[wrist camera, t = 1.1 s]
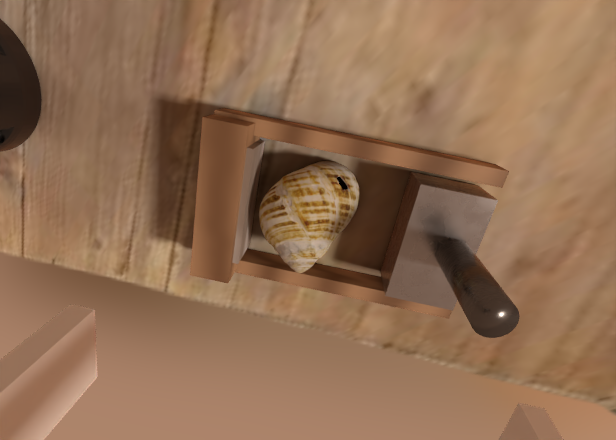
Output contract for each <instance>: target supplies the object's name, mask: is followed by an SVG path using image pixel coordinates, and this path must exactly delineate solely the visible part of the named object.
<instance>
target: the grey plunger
mask: <svg viewBox="0 0 616 440" xmlns="http://www.w3.org/2000/svg"><path fill="white" fill-rule="evenodd" d="M497 202H498V200H497V199H495V198H494V197H493V196H491V195H490V194H489V193H487V192H486V191H485V190H483V189H482V188H481V187H479V186H477V185H473V184H468V183H463V182H458V181H453V180H449V179H444V178H439V177H434V176H430V175H425V174H420V173H415V172H411V173H410V177H409V180H408V183H407V187H406V190H405V193H404V196H403V200H402V203H401V206H400V209H399V213H398V216H397V219H396V223H395V226H394V229H393V232H392V236H391V239H390V242H389V246H388V249H387V252H386V255H385V259H384V262H383V265H382V268H381V277H382V282H383V287H384V292H385V296H388V297H393V298H397V299H402V300H406V301H411V302H416V303H420V304H425V305H430V306H434V307H439V308H443V309H448V310H453V309H454V306H455V304H456V302H457V300H458V301H459V303H460V305H461V307H462V309H463V311H464V313H465V315H466V317H467V318H468V320H469V322H470V324H471V326H472V328H473V329H474V331H475V332H476V333H478V334H479V335H481V336H484V337H489V338H496V337H501V336H504V335H506V334H508V333H509V332H511V331H512V330H513V329H514V328H515V327H516V325H517V324H518V321H519V312H518V309H517V308H516V306H515V305H514V304H513V302H512V301H511V300H510V299H509V297H508V296H507V295H506V293H505V292H504V291H503V290H502V288H501V287H500V286H499V284H498V283H497V282H496V280H495V279H494V278H493V277H492V275H491V274H490V273H489V271H488V270H487V269H486V268H485V266H484V265H483V264H482V262H481V261H480V260H479V259H478V257H477V256H476V253H477V250H478V248H479V246H480V243H481V241H482V238H483V236H484V233H485V231H486V229H487V226H488V224H489V221H490V219H491V216H492V214H493V212H494V209H495V207H496V204H497Z"/></svg>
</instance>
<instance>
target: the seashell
mask: <svg viewBox="0 0 616 440" xmlns="http://www.w3.org/2000/svg"><path fill="white" fill-rule="evenodd" d="M337 177H341V179H342V180H343V181H344V182H345V183H346V185H347V187H348V190H347V189H346V190H342V188H341V185H340V184H339V182H338V180H337ZM358 202H359V186H358V182H357V180H356V178H355V176H354V175H353V173H352V172H351V171H350V170H349V169H348V168H346V167H345V166H343V165H341V164H339V163H336V162H332V161H320V162H317V163H315V164H311V165H308V166H306V167H305V168H302V169H299V170H297V171H294V172H292V173H290V174H287V175H285V176H284V177H282V179H281V180H280V181H279V182H277V183H276V184H275V185H273V186H272V187H271V188H270V190H269V191H268V192H267V194H266V195H265V196H264V198H263V200H262V202H261V205H260V209H259V219H260V226H261V230H262V232H263V234H264V236H265V238H266V240H267V241H268V242H269V243H270V244H271V245H272V246H273V247H274V249H275V250H276V251H277V252H278V253H279V255H280V256H281V258H282V259H283V261H284V262H285V263H287V264H288V265H289V266H290V268H292V269H293V270H294V271H295V272H297V273H302V272H305V271H306V270H308V269H310V268H311V267H312V266H313V265H314V263H315V262H316V260H318V259H320V258H321V257H322V256H323V255H324V254H325V253H326V252H327V251H328V249H329V247H330V244H331V243H332V242H333V240H334V239H335V238H336V237H337V235H338V234H339V233H340V232H342V231H343V230H344V229H345V227H346V226H347V225H348V224H349V222H350V221H351V219H352V217H353V215H354V214H355V212H356V210H357V207H358Z"/></svg>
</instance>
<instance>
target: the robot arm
mask: <svg viewBox="0 0 616 440" xmlns="http://www.w3.org/2000/svg"><path fill="white" fill-rule="evenodd" d="M40 110H41V91H40V85H39V80H38V76H37V73H36V70H35V67H34V65H33V62H32V60H31V58H30V56H29V54H28V52H27V51H26V49H25V47H24V46H23V44H22V43H21V41H20V40H19V39H18V37H17V36H16V35H15V33H14V32H13V31H12V30H11V29H10V28H9V27H8V26H7V25H6V24H5V23H4V22H3V21H2V20H1V19H0V151H6V150H9V149H12V148H15V147H17V146H19V145H20V144H22V143H23V142H24V141H25V140H27V139H28V137H29V136H30V135H31V134H32V132H33V131H34V129H35V127H36V125H37V122H38V119H39V116H40ZM96 378H97V353H96V331H95V310H94V309H91V308H87V307H82V306H77V305H73V304H70V305H69V306H68V307H66V308H65V309H64V310H62V311H61V312H60V313H59V314H58V315H56V316H55V317H54V318H52V319H51V320H50V321H49V322H47V323H46V324H45V325H44V326H42V327H41V328H40V329H39V330H37V331H36V332H35V333H33V334H32V335H31V336H30V337H29V338H27V339H26V340H25V341H23V342H22V343H21V344H20V345H18V346H17V347H16V348H15V349H13V350H12V351H11V352H9V353H8V354H7V355H6V356H4V357H3V358H2V359H1V360H0V440H44V439H45V438H46V437H47V435H48V434H49V433H50V432H51V431H52V430H53V428H54V427H55V426H56V425H57V424H58V422H59V421H60V420H61V419H62V418H63V417H64V416H65V414H66V413H67V412H68V411H69V410H70V409H71V407H72V406H73V405H74V404H75V403H76V401H77V400H78V399H79V398H80V397H81V396H82V394H83V393H84V392H85V391H86V390H87V389H88V387H89V386H90V385H91V384H92V383H93V382H94V380H95V379H96ZM499 440H564V439H563V438H562V436H561V435H560V433H559V432H558V430H557V428H556V427H555V425H554V423H553V422H552V420H551V418H550V417H549V415H548V413H547V412H546V410H545V409H544V408H540V407H535V406H531V405H526V404H521V403H519V404H518V405H517V407H516V409H515V411H514V413H513V414H512V416H511V418H510V420H509V422H508V424H507V425H506V427H505V429H504V431H503V433H502V435H501V436H500V438H499Z"/></svg>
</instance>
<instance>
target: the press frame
mask: <svg viewBox="0 0 616 440" xmlns="http://www.w3.org/2000/svg"><path fill="white" fill-rule="evenodd" d="M260 137H262V138H267V139H272V140H277V141H282V142H286V143H291V144H296V145H301V146H305V147H310V148H315V149H320V150H325V151H329V152H334V153H339V154H344V155H348V156H353V157H358V158H363V159H368V160H372V161H377V162H382V163H387V164H391V165H396V166H401V167H406V168H411V169H415V170H420V171H425V172H430V173H434V174H439V175H444V176H449V177H453V178H458V179H463V180H468V181H473V182H477V183H482V184H487V185H492V186H496V187H501V188H502V187H503V185H504V182H505V180H506V178H507V175H508V173H509V171H507V170H505V169H504V168H502V167H500V166H498V165H496V164H491V163H486V162H481V161H476V160H472V159H467V158H462V157H457V156H452V155H448V154H443V153H438V152H433V151H428V150H424V149H419V148H414V147H409V146H404V145H400V144H395V143H390V142H385V141H380V140H376V139H371V138H366V137H361V136H356V135H352V134H347V133H342V132H337V131H332V130H328V129H323V128H318V127H313V126H308V125H304V124H299V123H294V122H289V121H284V120H280V119H275V118H270V117H265V116H260V115H256V114H251V113H246V112H241V111H236V110H232V109H227V108H222V109H217V110H215V111H214V114H213V115H209V116H205V117H202V129H201V142H200V155H199V168H198V181H197V193H196V206H195V219H194V232H193V245H192V258H191V271H190V275H192V276H197V277H201V278H206V279H210V280H215V281H220V282H224V283H228V282H229V281H230V279H231V277H232V276H233V274H234V272H237V273H241V274H246V275H250V276H255V277H260V278H264V279H269V280H273V281H278V282H283V283H287V284H292V285H296V286H301V287H306V288H310V289H315V290H320V291H324V292H329V293H333V294H338V295H343V296H347V297H352V298H356V299H361V300H366V301H370V302H375V303H379V304H384V305H389V306H393V307H398V308H403V309H407V310H412V311H416V312H421V313H426V314H430V315H435V316H439V317H444V318H449V317H450V314H451V312H452V310H448V309H443V308H439V307H434V306H430V305H425V304H420V303H416V302H411V301H406V300H402V299H397V298H393V297H388V296H385V292H384V287H383V282H382V278H381V277H377V276H372V275H367V274H363V273H358V272H353V271H349V270H344V269H339V268H335V267H330V266H325V265H321V264H316V263H314V265H313V266H312V267H311V268H310V269H308V270H306V271H305V272H302V273H297V272H295V271H294V270H293V269H292V268H290V266H289V265H288V264H287V263H285V262H284V261H283V259H282V258H281V256H279V255H274V254H270V253H265V252H261V251H256V250H251V249H247V248H248V246H249V245H250V240H251V233H252V226H253V219H254V212H255V205H256V199H257V192H258V185H259V178H260V171H261V164H262V157H263V150H264V143H265V141H263V140H260Z"/></svg>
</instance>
